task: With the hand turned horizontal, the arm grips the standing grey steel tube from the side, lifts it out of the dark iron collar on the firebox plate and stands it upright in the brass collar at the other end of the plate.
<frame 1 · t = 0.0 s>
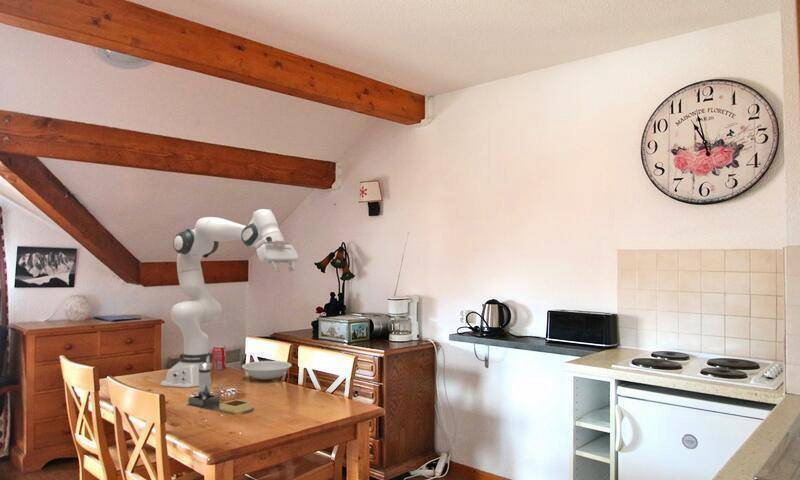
hand: (284, 271, 240), 54 cm above the table, tool tilted 30°, fingers open, 8 cm apart
soda can: (218, 369, 302), on the table
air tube: (203, 403, 229), point 1 cm above the table, touching firebox plate
soup bowl: (266, 379, 280), on the table
firebox plate: (219, 408, 224), on the table
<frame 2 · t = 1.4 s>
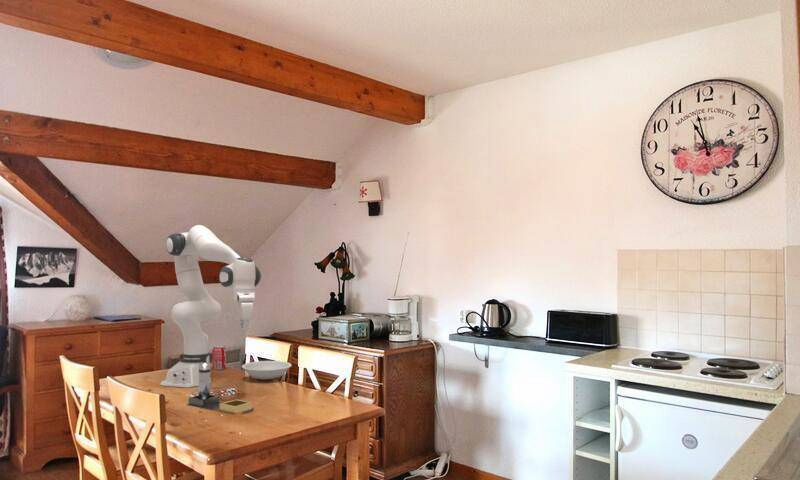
hand: (244, 329, 239), 30 cm above the table, tool pointing down, fingers open, 8 cm apart
nothing on the table moved.
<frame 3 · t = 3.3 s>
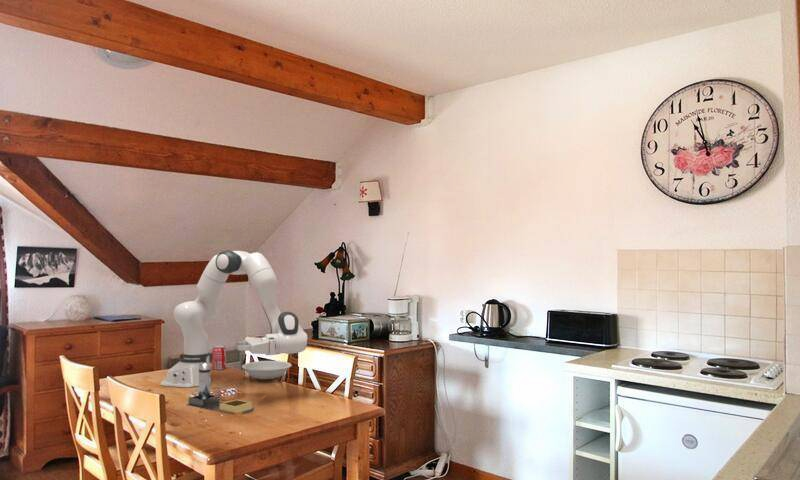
hand: (236, 346, 234), 23 cm above the table, tool horizontal, fingers open, 8 cm apart
nothing on the table moved.
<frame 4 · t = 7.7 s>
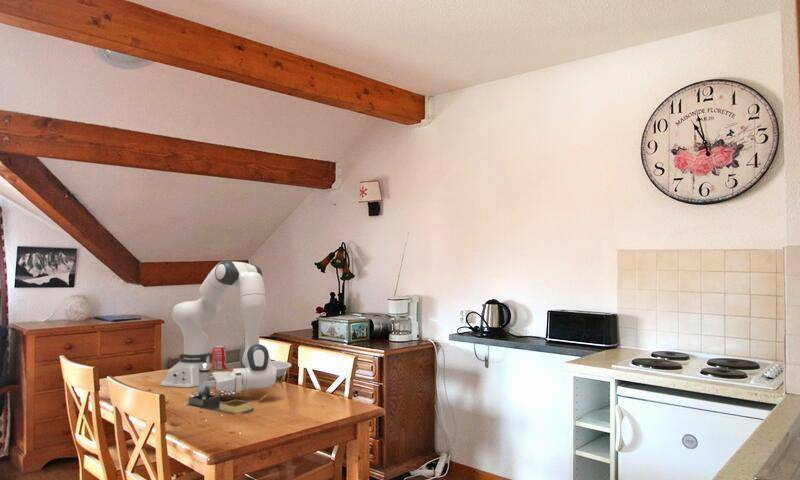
hand: (202, 382, 229), 10 cm above the table, tool horizontal, fingers closed on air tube, 4 cm apart
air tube: (203, 403, 229), point 1 cm above the table, touching firebox plate, gripper
everything else where it was.
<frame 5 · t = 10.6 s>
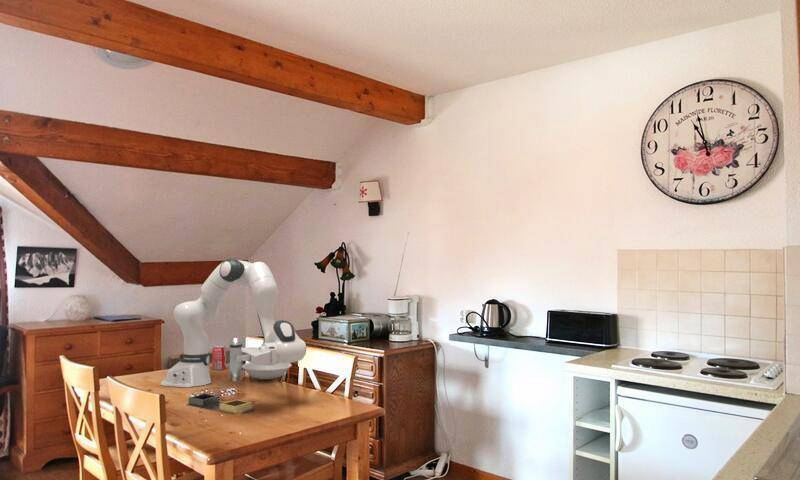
hand: (233, 357, 220), 21 cm above the table, tool horizontal, fingers closed on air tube, 4 cm apart
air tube: (235, 379, 220), point 13 cm above the table, touching gripper
everything else where it was.
when the fingers open (11 cm above the table, at t = 13.5 s): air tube drops 1 cm, resting on firebox plate.
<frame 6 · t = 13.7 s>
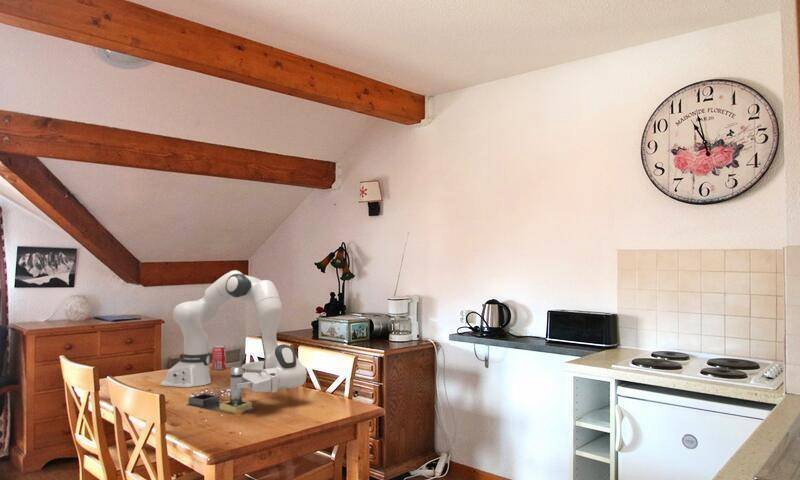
hand: (234, 384, 220), 11 cm above the table, tool horizontal, fingers open, 6 cm apart
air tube: (235, 409, 220), point 1 cm above the table, touching firebox plate
everything else where it was.
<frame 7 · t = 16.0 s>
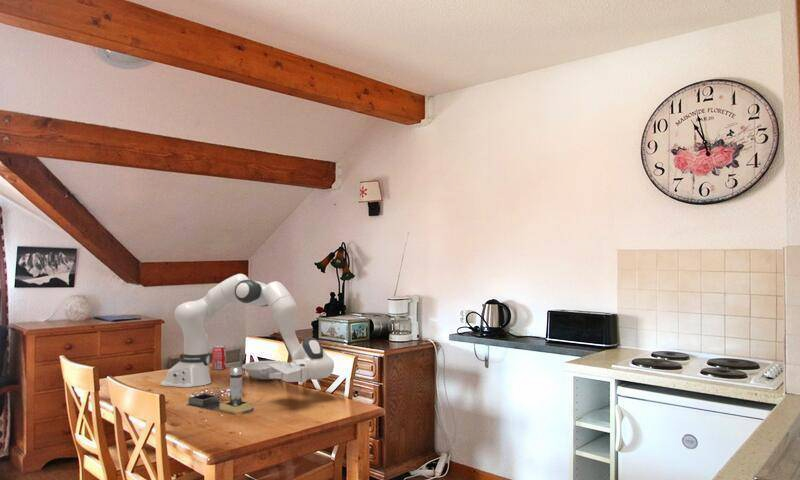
hand: (265, 373, 227), 13 cm above the table, tool horizontal, fingers open, 8 cm apart
nothing on the table moved.
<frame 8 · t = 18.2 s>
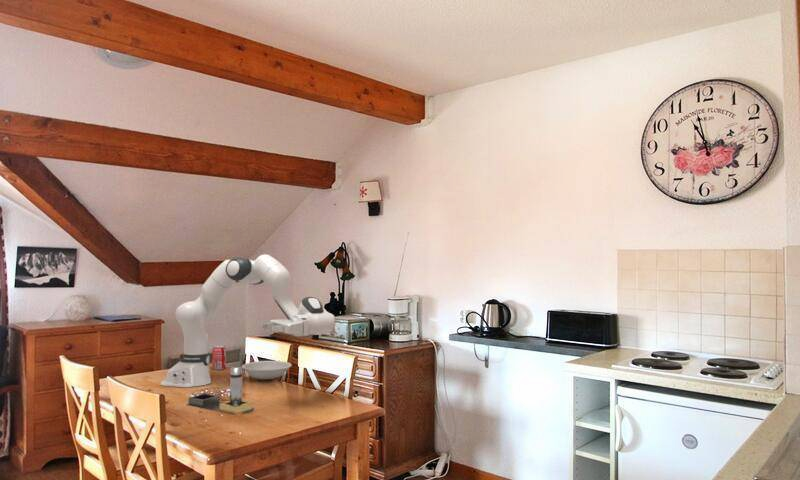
hand: (267, 327, 227), 32 cm above the table, tool horizontal, fingers open, 8 cm apart
nothing on the table moved.
at the end: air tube 0.0 cm from the target spot, point 1.0 cm above the table; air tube tilted 1°; the gripper is holding nothing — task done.
